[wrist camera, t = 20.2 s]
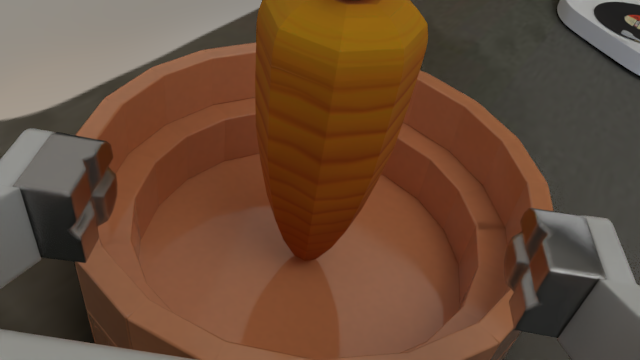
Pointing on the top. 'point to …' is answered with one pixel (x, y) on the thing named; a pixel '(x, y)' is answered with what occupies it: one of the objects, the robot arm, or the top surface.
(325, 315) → the pot
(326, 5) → the carrot
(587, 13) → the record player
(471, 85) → the top surface
